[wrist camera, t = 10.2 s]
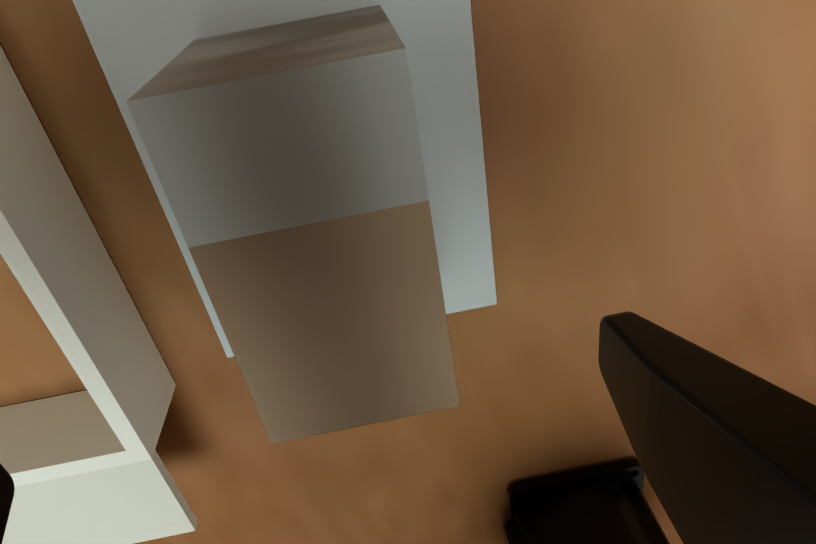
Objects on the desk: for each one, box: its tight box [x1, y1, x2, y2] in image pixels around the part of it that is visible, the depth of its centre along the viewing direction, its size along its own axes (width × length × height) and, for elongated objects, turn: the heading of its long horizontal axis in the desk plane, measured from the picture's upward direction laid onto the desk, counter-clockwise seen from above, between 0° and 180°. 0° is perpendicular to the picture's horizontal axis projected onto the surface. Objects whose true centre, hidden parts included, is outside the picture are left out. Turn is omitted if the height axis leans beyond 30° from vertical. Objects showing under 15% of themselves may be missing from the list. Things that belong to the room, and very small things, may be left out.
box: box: [126, 5, 460, 444], centre depth 15 cm, size 5×9×6 cm, turn 9°
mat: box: [72, 0, 497, 358], centre depth 18 cm, size 10×12×1 cm
